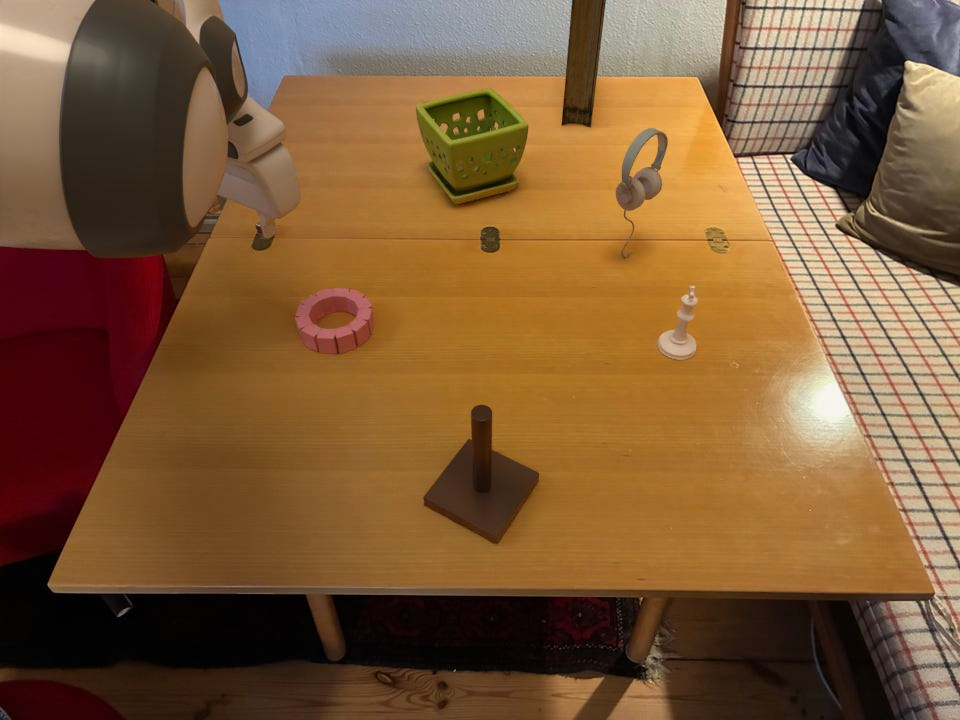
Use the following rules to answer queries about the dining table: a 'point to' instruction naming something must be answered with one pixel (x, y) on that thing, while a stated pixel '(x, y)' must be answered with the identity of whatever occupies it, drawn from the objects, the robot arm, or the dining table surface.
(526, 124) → the flower pot
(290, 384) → the dining table surface
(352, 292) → the ring
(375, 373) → the dining table surface
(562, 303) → the dining table surface
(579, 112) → the book
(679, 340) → the chess piece
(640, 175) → the headphones
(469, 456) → the stand
